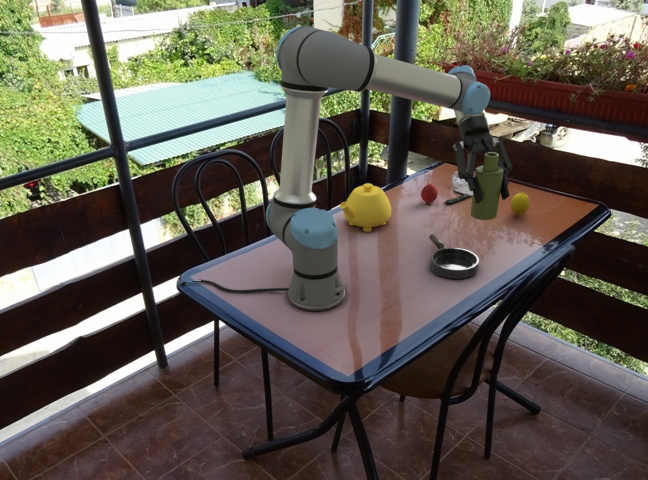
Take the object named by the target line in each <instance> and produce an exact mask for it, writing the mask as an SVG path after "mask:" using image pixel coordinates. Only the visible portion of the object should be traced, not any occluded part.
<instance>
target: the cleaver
mask: <svg viewBox="0 0 648 480" xmlns="http://www.w3.org/2000/svg"><path fill="white" fill-rule="evenodd" d="M465 185H466V184H464V185H462V186H459V187H458V188H455V189H454V190H453V191H454V192H456V193H459V194H462V195H459V196H457V197H455V198H452V199H447V200H445V204H447V205H452V204H455V203H458V202H461V201H463V200H465V199H467V198H470V197H473V191H470V190H469V186H465Z"/></svg>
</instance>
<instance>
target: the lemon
mask: <svg viewBox="0 0 648 480" xmlns="http://www.w3.org/2000/svg"><path fill="white" fill-rule="evenodd" d="M529 207H530V197H529V196H528V195H527V194H526V193H524V192H519V193H517V194H515V195H514V196H513V197H512V199H511V202H510V208H511V211H512V212H513V213H514V214H516V215H517V216H520V215H522V214H525V213H526V212H527V211H528V209H529Z"/></svg>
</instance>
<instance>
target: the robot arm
mask: <svg viewBox="0 0 648 480" xmlns="http://www.w3.org/2000/svg"><path fill="white" fill-rule="evenodd" d="M275 51H276V52H275V58H276V63H277V66H278V68H279V69H280V71H281V76H280V78H281V81H280V89H282V90H283V92H284V93H285V95H286V97H285V110H284V123H283V135H282V136H283V138H282V151H281V165H280V176H279V177H280V179H279V188H278V189H276V190H275V191H274V192H273V195H272V201H271V202H269V204H268V205H267V208H266V211H265V221H266V224H267V226H268V228H269V229H270V231H271V233H272V234H273V235H274V236H275V237H276V238H277V239H279V240H280V241H281V243H282V244H284V245H285V246H286V247H287V248H288V249H289V250H290V251H291V255H292V268H293V269H292V270H293V272H292V276H291V279H290V283H289V285H288V287H273V288H272V287H271V288H253V289H233V288H232V289H231V288H227V287H224V286H222V285H220V284H218V283H216V282H214V281H211V280H206V279H200V280H201V281H192V282H191V283H202V284H203V283H204V284H209V285H212V286H214V287H216V288H218V289H220V290H222V291H224V292H228V293H236V294H244V293H245V294H246V293H260V292H261V293H262V292H283V291H284V292H286V291H288V292H287V294H288V295H287V296H288V298H287V299H288V301H289V303H290V304H292V306H293V307H295V308H297V309H299V310H302V311H306V312H323V311H328V310H332V309H335V308H336V307H339V306H340V305H341V304H342V303H343V302H344V300H345V296H346V291H345V290H347V287H348V285H347V284H348V283H345V284H344V283H343V280H342V278H341V275H340V273H339V269H338V268H339V267H338V266H339V265H338V264H339V263H338V253H339V252H338V251H339V250H338V249H339V248H338V237H339V229H338V223H337V220H336V218H335V216H334V215H333V214H332V213H331V212H329V211H327V210H326V209H320V208H319V207H316V206H317V195H316V194H315V193H314V192H313V180H314V169H315V163H316V161H315V160H316V151H317V143H318V141H317V140H318V131H319V122H320V112H321V103H322V97H324V96H325V95H326V94H327V93H328V92H329V89H336V90H346V91H350V92H351V91H352V92H355V93H362V92H364V91H365V90H368V91H372V92H373V91H374V92H378V93H381V94H386V95H389V96H394V97H399V98H403V99H407V100H412V101H414V102H419V103H420V102H421V103H424V104H427V105H428V104H429V105H432V106H437V107H442V108H446V109H448V110H453V112H454V115H455V120H456V123H457V126H458V132H459V135H460V138H461V141H456V142H455V143H454V144H453V146H452V150H453V152H454V154H455V159H456V168H457V175H458V179H459V180H464V182H466V183H467V184H468V186H469V190H470V191H473V194H474V198H475V202H476V203H479V202H480V201H481V200H483V198H482V194H481V190H480V186H479V183H478V179H477V176H476V177H475V166H476V158H477V155H483V157H485V154H486V153H489V152H493V153H497V154H499V157H498V164H497V166H499V167H501V168H503V170H504V172H503V178H502V185H501V191H500V197H501V199H502V201H505V200H507V199H508V198H509V197H510V191H509V187H508V186H509V185H510V181H509V178H508V173H510V171H512V170H513V166H512V163H511V160H510V158H509V155H508V153H507V149H506V147H505V145H504V137H503V136H499V137H493V135H492V134H491V132H490V126H489V122H488V119H487V118H488V117H487V114H486V111H485V110H486V108H487V107H488V105H489V102H490V100H491V99H490V98H491V91H490V88H489V87H488V86H487V85H486V84H485V83H482V82H480V81H478V80H477V77H476V74H475V72H474V69H473V68H472V67H471V66H470V65H464V64H463V65H461V66H459V65H458V66H455V67H453V68H452V69H450V70H449V71H448V72H447V73H446V72H442V71H439V70H435V69H431V68H427V67H424V66H420V65H416V64H413V63H409V62H406V61H402V60H399V59H395V58H391V57H387V56H383V55H381V54H377V53H375V51H374V49H373V48H372V47H370V46H366V45H363V44H360V43H358V42H355V41H353V40H351V39H349V38H347V37H345V36H342V35H340V34H338V33H336V32H333V31H329V30H325V29H320V28H316V27H315V26H314V27H313V26H309V25H305V26H296V27H295V26H294V27H293V28H290V29H289V30H287V31H286V32H285V33H284V34H283V35H282V37H281V38H280V39H279V41H278V44H277V47H276V50H275ZM464 149H465V150H466V151H467V157H466V158H467V163H466V159H465V152H464ZM188 283H189V282H184V281H182V282H181V283H180V284H179V286H181V287H183V286H184V285H186V284H188Z"/></svg>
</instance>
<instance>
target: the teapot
mask: <svg viewBox="0 0 648 480" xmlns="http://www.w3.org/2000/svg"><path fill="white" fill-rule="evenodd" d="M339 208H340V209H341V211H342V212H343V217H344V218H345V219H346V220H347V222H348V225H349V226H356V227H361V228H362V230H363V232H371V231H372V229H373V228H374V227H378V226H384V225H386V224H387V223H386V222H387V221H388V220H389V219H390V218H391V216H392V207H391V202H390V200H389V198H388V196H387V194H386V193H385V192H384V190H383V189H382V188H381V187H379V186H376V185H373V183H369V182H367V183H364V184H362V185H359V186H357V187H355V188H354V189H353V190H352V191H351V193H350V194H349V196H348V198H347V199H346V201H343V202H341V203H340V204H339ZM372 227H373V228H372Z"/></svg>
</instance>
